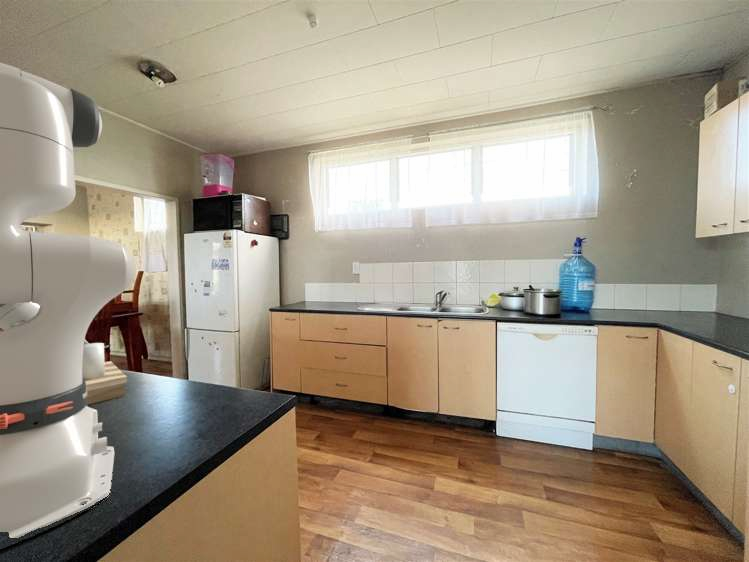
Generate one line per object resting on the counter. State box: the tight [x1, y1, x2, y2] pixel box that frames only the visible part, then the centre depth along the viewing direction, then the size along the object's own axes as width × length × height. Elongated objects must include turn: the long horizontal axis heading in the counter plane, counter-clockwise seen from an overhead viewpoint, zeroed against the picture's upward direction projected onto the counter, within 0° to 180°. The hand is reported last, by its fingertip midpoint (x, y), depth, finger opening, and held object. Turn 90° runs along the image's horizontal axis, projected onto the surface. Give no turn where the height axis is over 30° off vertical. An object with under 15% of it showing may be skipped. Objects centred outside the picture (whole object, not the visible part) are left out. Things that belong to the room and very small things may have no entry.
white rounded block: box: [82, 342, 106, 380], centre depth 80 cm, size 5×5×8 cm
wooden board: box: [84, 360, 128, 406], centre depth 82 cm, size 22×14×5 cm, turn 50°
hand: (83, 353), depth 80 cm, fingers open, 8 cm apart
